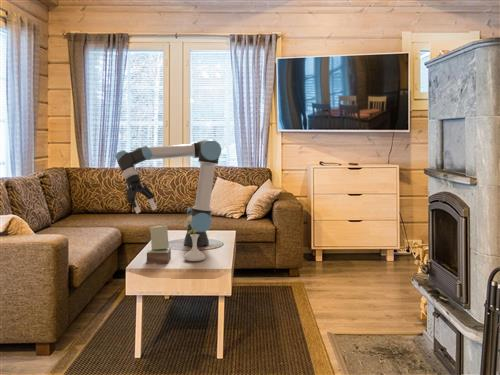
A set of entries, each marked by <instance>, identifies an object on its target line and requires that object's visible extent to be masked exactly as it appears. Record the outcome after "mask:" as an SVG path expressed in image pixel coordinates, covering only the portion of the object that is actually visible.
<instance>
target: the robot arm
mask: <svg viewBox="0 0 500 375" xmlns="http://www.w3.org/2000/svg"><path fill="white" fill-rule="evenodd" d="M221 154H222V147H221V144H220V143H219V142H217V140H215V139H203V140H199V141H191V143H190V144H189V143H188V144H174V145H160V146H149V145H143V146H142V147H136V148H135V150H132V151H130V152H129V150H127V149H126V150H124V149H123V150H120V151H119V152H117V153H116V154H115V160H116V162H117V164H118V167H119V169H120V171H121V172H122V175H123V178H124V179H125V183H126V184H127V185H126V186H125V189H126V190H125V191H126V201H127V202H128V203H129V204H131V205H132V207H133V208H134V211H135V214H139V213H141V212H142V210H141V208H140V206H139V203H138V202H137V200H135V199H136V194H137V193H139V194H142V195H143V196H144V197H145V198H146V199H148V200H147V201H148V203H149V206H150V207H151V209H152V211H156V210H158V207H157V205H156V203H155V201H154V198H155V194H154V193H153V192H152V191H151V190H150V189H149V187H148V186H147V185H146V183H145V182H143V183H141V178H140V176H139V173H138V171H137V168H136V167H135V165H137V164H140V163H143V162H145V161H149V160H165V159H176V158H190V157H192V158H193V159H197V160H198V163H199V173H198V180H197V188H196V195H195V203H194V205H193V206H191V207H188V208H187V209H186V219H187V218H188V216H189V215H192V220H191V222H190V223H191V225H192V227H191V225H190V223H189V225H187V226H186V227H187V228H186V230H187V231H186V234H185V237H184V240H183V243H184V244H185V245H184V244H183V245H184V246H187V245H188V246H187V247H192V246H193V242H192V238H191V236H190V235H191V234H199V237H198V239H197V247H205V246H204V245H206V246H208V245H209V244H210V243H209V242H210V240H209V237H208V234H207V231H208V230H209V229H210V228H211V226H212V208H211V207H210V206H211V200H212V190H213V183H214V176H215V169H216V166H218V165H219V160H220V159H219V158H220V157H221ZM196 227H197V232H195V233H193V231H192V232H191V233H190V234H188V232H189V231H190V230H192V228H193V229H195V228H196Z"/></svg>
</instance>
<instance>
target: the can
mask: <svg viewBox="0 0 500 375" xmlns="http://www.w3.org/2000/svg"><path fill="white" fill-rule="evenodd" d="M149 232H150V241H151V242H150V245H151V247H150V248H151V249H153V250H156V249H166V248H170V246H169V245H170V244H169V234H168V233H169V232H168V225H155V226H150V227H149Z"/></svg>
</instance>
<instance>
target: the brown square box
mask: <svg viewBox="0 0 500 375" xmlns="http://www.w3.org/2000/svg"><path fill="white" fill-rule="evenodd" d="M151 248H152V247H150V248H149V249H148V251H147V252H146V264H147V265H152V264H153V265H162V264H163V265H169V263H170V261H171V260H172V259H171V258H172V253H171V252H172V250H171V248H170V247H169V248H166V249H156V250H153V249H151Z"/></svg>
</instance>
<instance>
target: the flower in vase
mask: <svg viewBox="0 0 500 375" xmlns="http://www.w3.org/2000/svg"><path fill="white" fill-rule="evenodd" d="M191 220H192V215H189V216H188V218H187V217H186V218H185V220H184V222H183V223H182V227H183V228H186V227H187V225H189V223H190V222H191ZM190 225H191V223H190ZM191 227H192V225H191ZM192 231H193V233H195V232H197V227H196V228H195V229H193V228H192V230H190V231H189V232H188V234H190V233H191V232H192ZM190 236H191V238H192V242H193V246H191V247H192V248H191V249H190V250H188V252H187V253H186V254H185V255H184V256H183V259H184V260H185V261H188V262H200V261H203V260H205V259H206V256H205V254H204V253H203V252H201V251H200V250H199V248H198V246H197V239H198V237H199V234H191V235H190Z"/></svg>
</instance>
